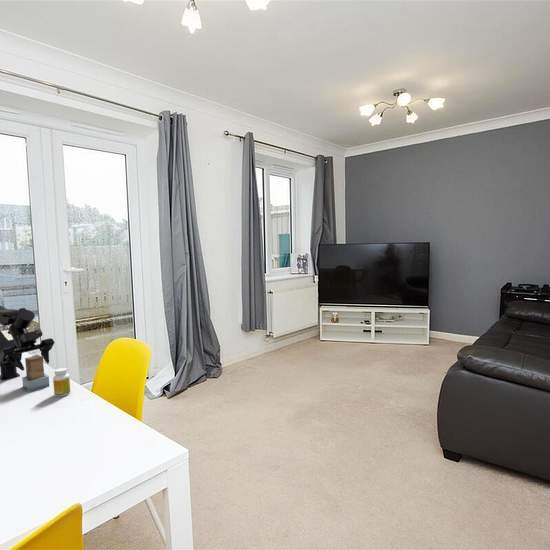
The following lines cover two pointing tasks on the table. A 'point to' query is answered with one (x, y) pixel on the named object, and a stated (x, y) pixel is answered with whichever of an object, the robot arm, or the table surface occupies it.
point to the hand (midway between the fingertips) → (36, 366)
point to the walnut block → (34, 367)
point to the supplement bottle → (61, 382)
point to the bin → (35, 383)
